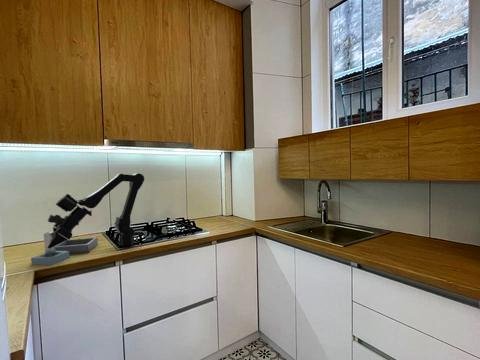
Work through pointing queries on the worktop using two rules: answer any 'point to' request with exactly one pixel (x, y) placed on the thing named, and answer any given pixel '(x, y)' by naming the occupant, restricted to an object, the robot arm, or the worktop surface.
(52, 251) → the stop pin
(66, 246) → the tray
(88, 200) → the robot arm
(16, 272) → the worktop surface
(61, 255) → the socket block
